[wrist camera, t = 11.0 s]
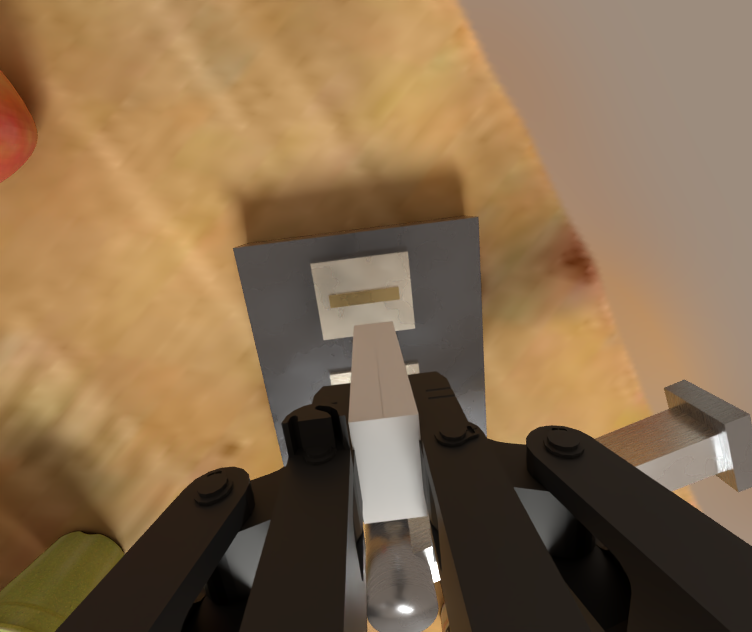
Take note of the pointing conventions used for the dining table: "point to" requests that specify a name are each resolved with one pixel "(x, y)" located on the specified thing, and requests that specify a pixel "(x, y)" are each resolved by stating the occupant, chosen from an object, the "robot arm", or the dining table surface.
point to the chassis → (366, 307)
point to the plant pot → (56, 582)
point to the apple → (14, 130)
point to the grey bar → (632, 443)
